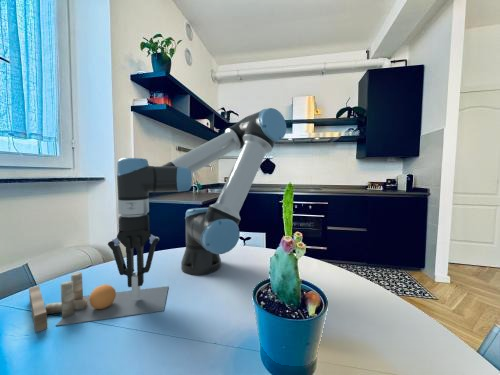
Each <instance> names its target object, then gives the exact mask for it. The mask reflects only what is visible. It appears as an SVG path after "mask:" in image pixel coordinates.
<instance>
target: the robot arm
mask: <svg viewBox="0 0 500 375" xmlns="http://www.w3.org/2000/svg"><path fill="white" fill-rule="evenodd" d="M286 133H287V122H286V119H285V117H284V116H283V114H282V112H280V111H279V110H278V109H276V108H272V107H267V108H264V109H262V110H260V111H257V112H255V113H253V114H249V115H248V116H245V117H244V118H242V119H241V120H238V122H236V123H234V124H233V125H232V126H229V127H228V128H226V129H225V130H224V133H222V134H220V135H218V136H217V137H214V138H212V139H210V140H209V141H207V142H205V143H203V144H201V145H199V146H197V147H195V148H193V149H191V150H189V151H186V152H185V153H183V154H182V155H180V156H177V157H176V158H174V159H171V160H169V161H168V162H166V163H164V164H162V165H160V166H159V165H158V166H154V165H149V161H148V159H146V158H139V157H138V158H137V157H122V158H120V159H119V160H117V163H116V164H117V167H116V168H117V169H116V170H117V171H116V181H117V206H118V207H117V211H118V215H119V217H118V233H117V234H116V237H114V238H113V239H111V240H110V241H108V243H107V246H108V247H109V249H111V251H112V254H113V257H114V260H115V264H116V266H117V270H118V273H119V275H120V276H126V278H127V287H128V288H131V290H132V300H135V299H138V298H139V295H140V289H141V287H142V286H143V284H144V282H145V277H144V276H145V274H146V273H149V272H150V269H151V266H152V263H153V259H154V255H155V249H156V246H157V244H158V243H159V241H160V236H155V235H153V234H152V231H151V229H150V215H149V214H148V213H149V212H150V197H149V193H165V192H166V193H171V192H172V193H173V192H178V193H180V192H188V191H189V190H190V189H191V188H192V185H193V184H192V183H193V175H192V174H194V173H196V172H197V171H199V170H201V169H203V168H204V167H206V166H208V165H210V164H211V163H213V162H215V161H217V160H218V159H220V158H222V157H224V156H226V155H227V154H229V153H231V152H233V151H235V152H237V151H240V152H239V154H238V156H237V158H236V160H235V162H234V165H233V166H232V168H231V171H230V173H229V175H228V177H227V179H226V181H225V183H224V185H223V188H222V189H221V191H220V194H219V196H218V198H217V200H216V202H215V203H213V204H209V206H208V207H200V208H199V207H195V208H189V209H186V212H185V217H184V219H185V249H184V253H183V256H182V259H181V262H180V263H181V264H180V269H181V271H182V272H184V273H185V274H189V275H197V276H199V275H207V274H212V273H214V272H216V271H218V270H219V269H220V268H221V266H222V259H221V257H220V256H221V255H223V254H226V253H229V252H230V251H232V250H233V249H234V248H235V247H236V245H237V244H238V243H239V239H240V235H241V234H240V228H239V224H240V222H241V216H240V211H241V209H242V207H243V205H244V202H245V200H246V198H247V196H248V194H249V191H250V189H251V186H253V182H254V180H255V178H256V176H257V174H258V171H259V169H260V168H261V165H262V163H263V161H264V158H265V156H266V154H268V153H271V152H272V150H273V148H274V146H275V143H276V142H279V141H281V140H282V139H283V138H284V137H285V136H286ZM148 240H149V244H150V246H149V250H148V254H147V258H146V262H145V263H144V260H145V259H144V249H145V248H144V246H145V245H146V243H147V242H148ZM120 243H121V244H122V245H123V246H124V247H125V255H126V258H125V259H126V262H125V259H124V256H123V253H122V248H121V246H120ZM134 249H135V251H136V272H134V271H135V266H134V265H135V262H134V260H135V259H134V258H135V256H134Z"/></svg>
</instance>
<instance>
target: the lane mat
mask: <svg viewBox="0 0 500 375" xmlns="http://www.w3.org/2000/svg"><path fill="white" fill-rule="evenodd" d="M168 290H169V286H159V287H151V288H150V287H149V288H140V295H139V298H138V299H135V300H132V289H131V290H124V291H123V290H122V291H116V297H115V300H114V301H113V303H112V304H111V305H110V306H108V307H107V308H104V309H95V308H93V307H92V306H91V305H90V302H89V298H90V295H91V294H90V295H83V299H87V306H86V307H85V309H79V310H74V314H73V315H72V316H70V317H66V318H62V317H61V319H60V320H59V321H58V322H57V323H56V324H55V326H56V327H60V326H67V325H75V324H82V323H89V322H96V321H103V320H111V319H115V318H116V319H117V318H122V317H123V318H125V317H130V316H137V315H138V316H139V315H145V314H153V313H159V312H164V310H165V307H166V302H167V301H166V300H167V295H168V292H167V291H168Z"/></svg>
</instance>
